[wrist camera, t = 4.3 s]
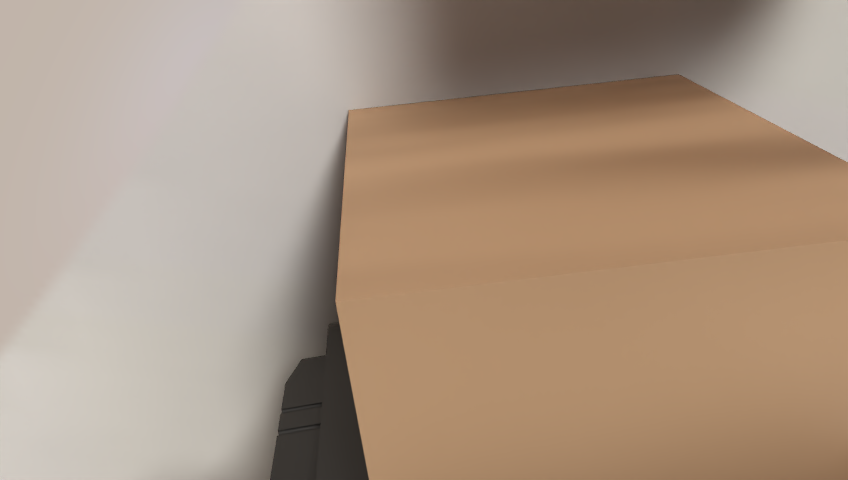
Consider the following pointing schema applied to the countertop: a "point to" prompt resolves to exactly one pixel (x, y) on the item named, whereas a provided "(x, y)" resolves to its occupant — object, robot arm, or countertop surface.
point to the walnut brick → (594, 288)
